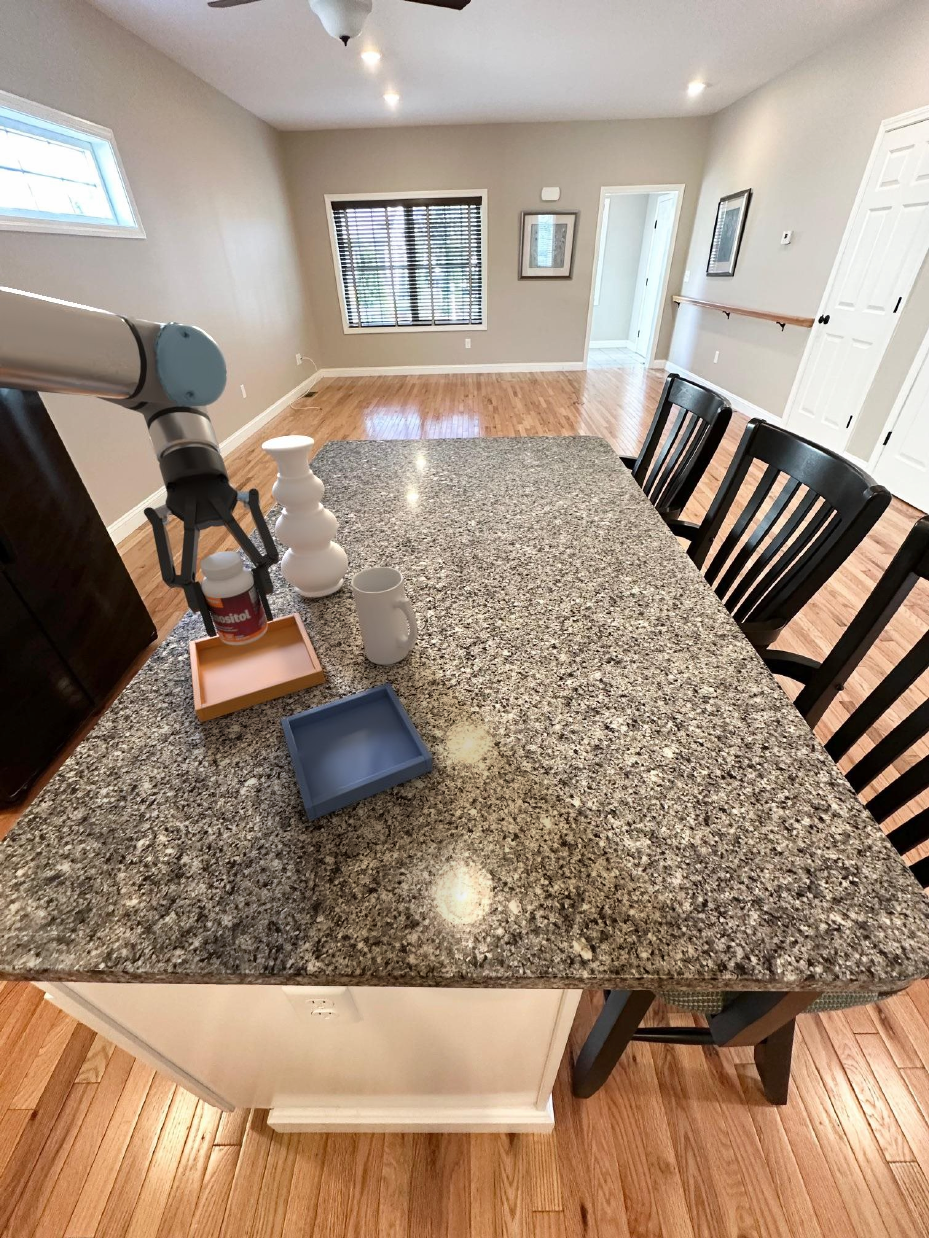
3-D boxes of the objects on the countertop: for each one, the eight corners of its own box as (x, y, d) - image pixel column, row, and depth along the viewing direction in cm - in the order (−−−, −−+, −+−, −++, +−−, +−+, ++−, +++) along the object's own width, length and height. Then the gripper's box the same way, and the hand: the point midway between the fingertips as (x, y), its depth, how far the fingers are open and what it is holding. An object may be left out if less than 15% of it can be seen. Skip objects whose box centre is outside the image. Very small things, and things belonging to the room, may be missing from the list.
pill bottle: (213, 648, 66) (183, 574, 59) (228, 621, 71) (202, 549, 64) (262, 645, 66) (238, 571, 60) (274, 618, 71) (252, 546, 65)
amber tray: (200, 722, 63) (194, 710, 62) (193, 653, 75) (188, 641, 73) (325, 682, 69) (322, 670, 67) (301, 623, 80) (298, 612, 79)
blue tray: (309, 821, 51) (305, 808, 50) (284, 731, 61) (280, 719, 60) (433, 769, 56) (432, 757, 55) (391, 694, 66) (389, 682, 65)
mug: (354, 653, 73) (340, 581, 67) (389, 631, 78) (379, 561, 71) (402, 683, 68) (392, 608, 61) (437, 658, 72) (431, 585, 65)
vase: (312, 568, 95) (280, 428, 80) (363, 577, 91) (340, 433, 77) (274, 598, 86) (231, 448, 72) (329, 610, 83) (296, 455, 69)
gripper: (268, 461, 73) (317, 612, 70) (116, 486, 66) (164, 654, 64) (265, 432, 66) (319, 598, 64) (95, 456, 60) (147, 643, 57)
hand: (241, 626), depth 64 cm, fingers closed on pill bottle, 6 cm apart
